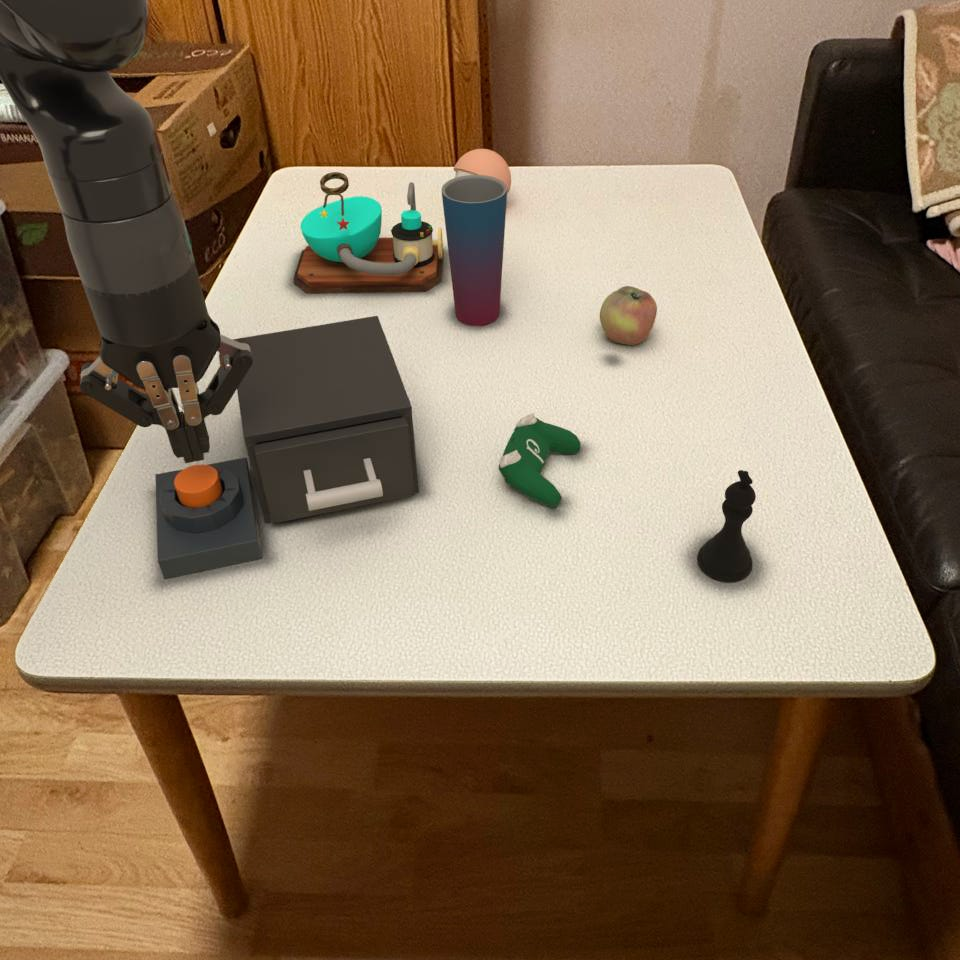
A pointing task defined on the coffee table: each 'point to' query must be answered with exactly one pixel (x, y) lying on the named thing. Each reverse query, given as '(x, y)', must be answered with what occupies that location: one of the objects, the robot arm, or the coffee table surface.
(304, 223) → the contraption on wooden base
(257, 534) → the control block
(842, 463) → the coffee table surface
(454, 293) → the cup
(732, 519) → the chess piece
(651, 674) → the coffee table surface
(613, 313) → the apple
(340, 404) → the drawer cabinet
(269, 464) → the dark box with handle
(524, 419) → the gaming controller
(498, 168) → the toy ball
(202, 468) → the button
